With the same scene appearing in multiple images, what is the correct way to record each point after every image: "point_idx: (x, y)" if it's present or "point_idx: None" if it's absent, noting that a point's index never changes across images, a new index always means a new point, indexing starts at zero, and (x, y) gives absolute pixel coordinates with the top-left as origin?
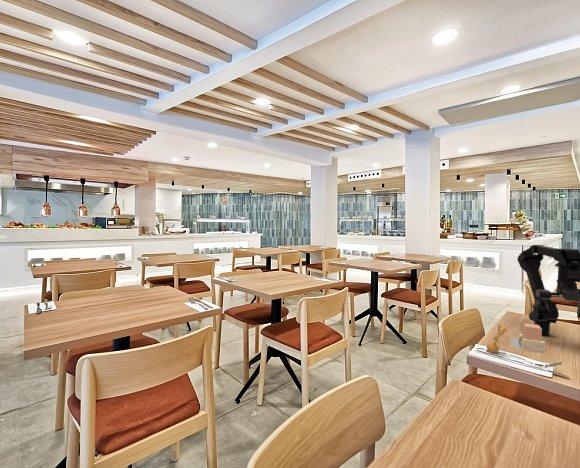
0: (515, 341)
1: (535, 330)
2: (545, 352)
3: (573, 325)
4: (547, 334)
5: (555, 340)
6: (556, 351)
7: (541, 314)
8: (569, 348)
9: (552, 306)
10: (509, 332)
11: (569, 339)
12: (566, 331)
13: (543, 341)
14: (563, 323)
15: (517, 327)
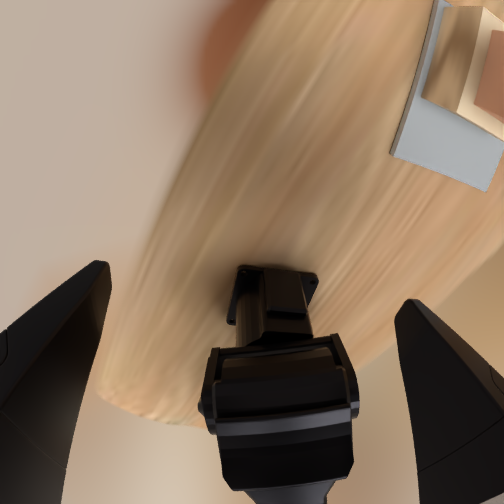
0: (487, 153)
1: None
2: (439, 7)
3: (97, 392)
4: (268, 275)
5: (240, 234)
6: (349, 44)
7: (345, 371)
8: (228, 115)
9: (255, 452)
10: (412, 284)
11: (154, 269)
12: (132, 352)
13: (483, 24)
14: (122, 402)
15: None
